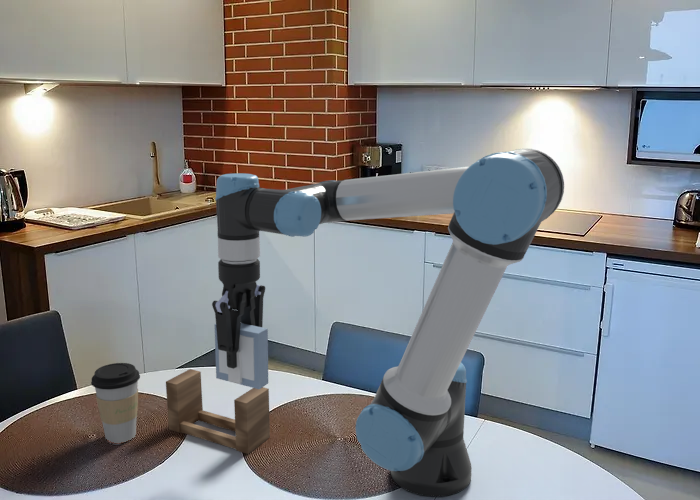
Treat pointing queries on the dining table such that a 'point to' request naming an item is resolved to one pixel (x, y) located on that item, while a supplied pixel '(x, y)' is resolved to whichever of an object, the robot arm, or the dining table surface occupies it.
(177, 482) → the dining table surface
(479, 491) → the dining table surface
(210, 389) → the dining table surface
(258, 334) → the door panel
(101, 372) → the coffee cup
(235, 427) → the track
